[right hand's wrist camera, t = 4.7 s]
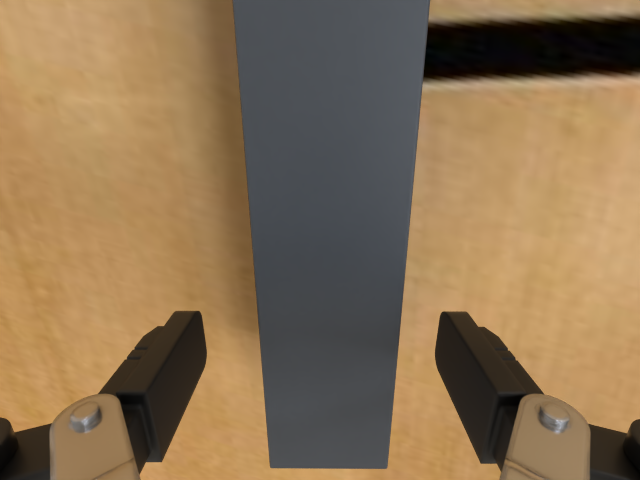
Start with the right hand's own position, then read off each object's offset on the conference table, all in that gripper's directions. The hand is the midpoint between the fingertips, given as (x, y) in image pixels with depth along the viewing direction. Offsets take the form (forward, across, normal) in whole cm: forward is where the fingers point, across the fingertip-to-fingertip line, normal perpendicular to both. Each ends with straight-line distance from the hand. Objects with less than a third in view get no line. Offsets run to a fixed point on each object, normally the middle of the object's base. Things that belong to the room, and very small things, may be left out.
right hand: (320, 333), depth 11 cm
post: (+8, 0, -26) cm, 27 cm away
